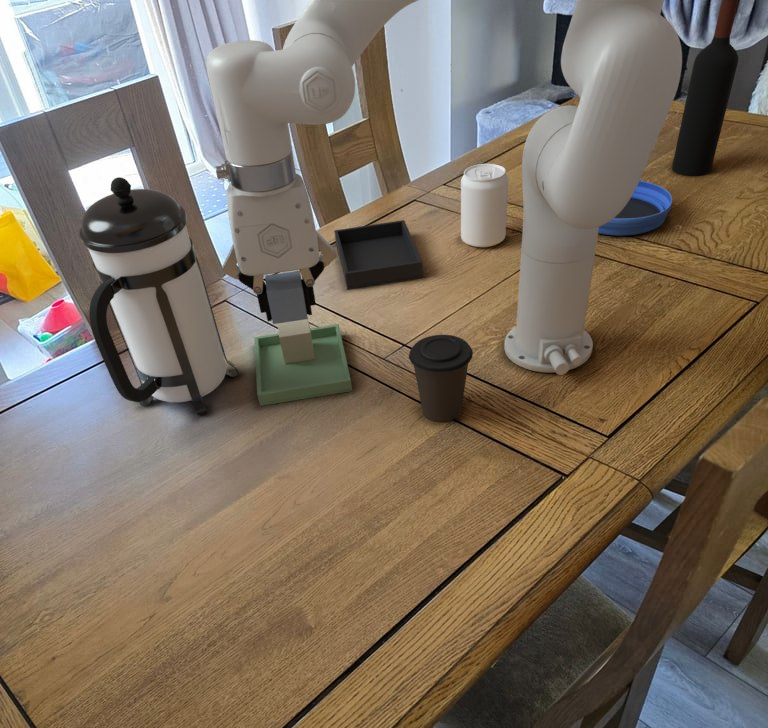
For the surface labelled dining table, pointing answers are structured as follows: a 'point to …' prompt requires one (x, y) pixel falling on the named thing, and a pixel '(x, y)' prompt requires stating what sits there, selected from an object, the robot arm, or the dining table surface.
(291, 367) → the dish
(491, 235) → the beverage can
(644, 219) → the bowl
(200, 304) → the coffee press
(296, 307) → the bluegrey block
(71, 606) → the dining table surface
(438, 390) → the coffee cup
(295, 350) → the cream block
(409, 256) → the black tray
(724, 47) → the wine bottle
